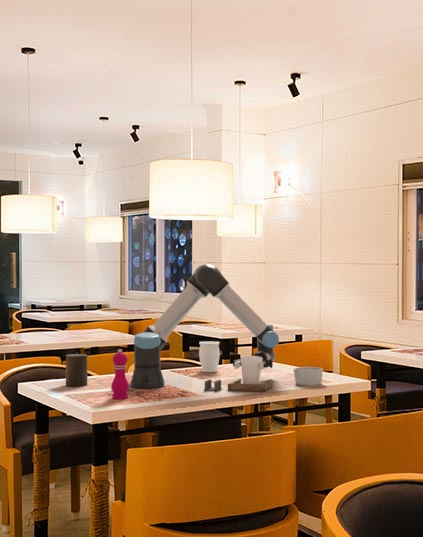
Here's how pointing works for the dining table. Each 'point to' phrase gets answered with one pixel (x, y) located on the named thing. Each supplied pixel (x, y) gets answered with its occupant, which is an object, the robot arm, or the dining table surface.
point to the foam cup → (251, 369)
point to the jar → (209, 356)
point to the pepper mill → (120, 377)
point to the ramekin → (308, 376)
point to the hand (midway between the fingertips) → (248, 366)
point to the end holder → (249, 386)
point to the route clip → (209, 388)
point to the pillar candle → (76, 370)
